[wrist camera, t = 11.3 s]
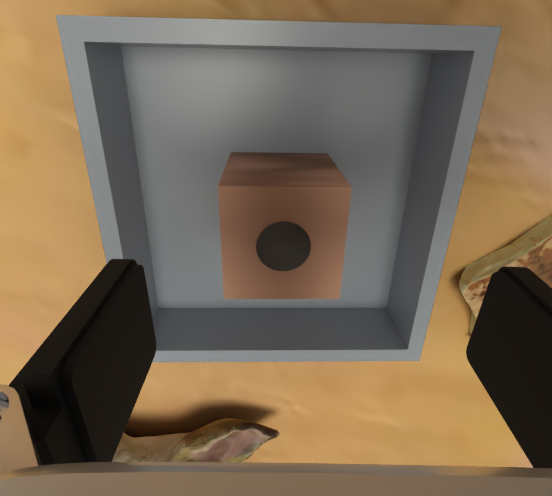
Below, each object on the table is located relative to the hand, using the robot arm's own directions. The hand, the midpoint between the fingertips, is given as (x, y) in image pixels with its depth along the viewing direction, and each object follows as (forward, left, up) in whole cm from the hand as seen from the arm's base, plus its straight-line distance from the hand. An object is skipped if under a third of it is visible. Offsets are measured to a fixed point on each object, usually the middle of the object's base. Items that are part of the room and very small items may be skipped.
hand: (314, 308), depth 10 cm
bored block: (+1, +1, -11) cm, 11 cm away
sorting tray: (+1, +1, -12) cm, 12 cm away
